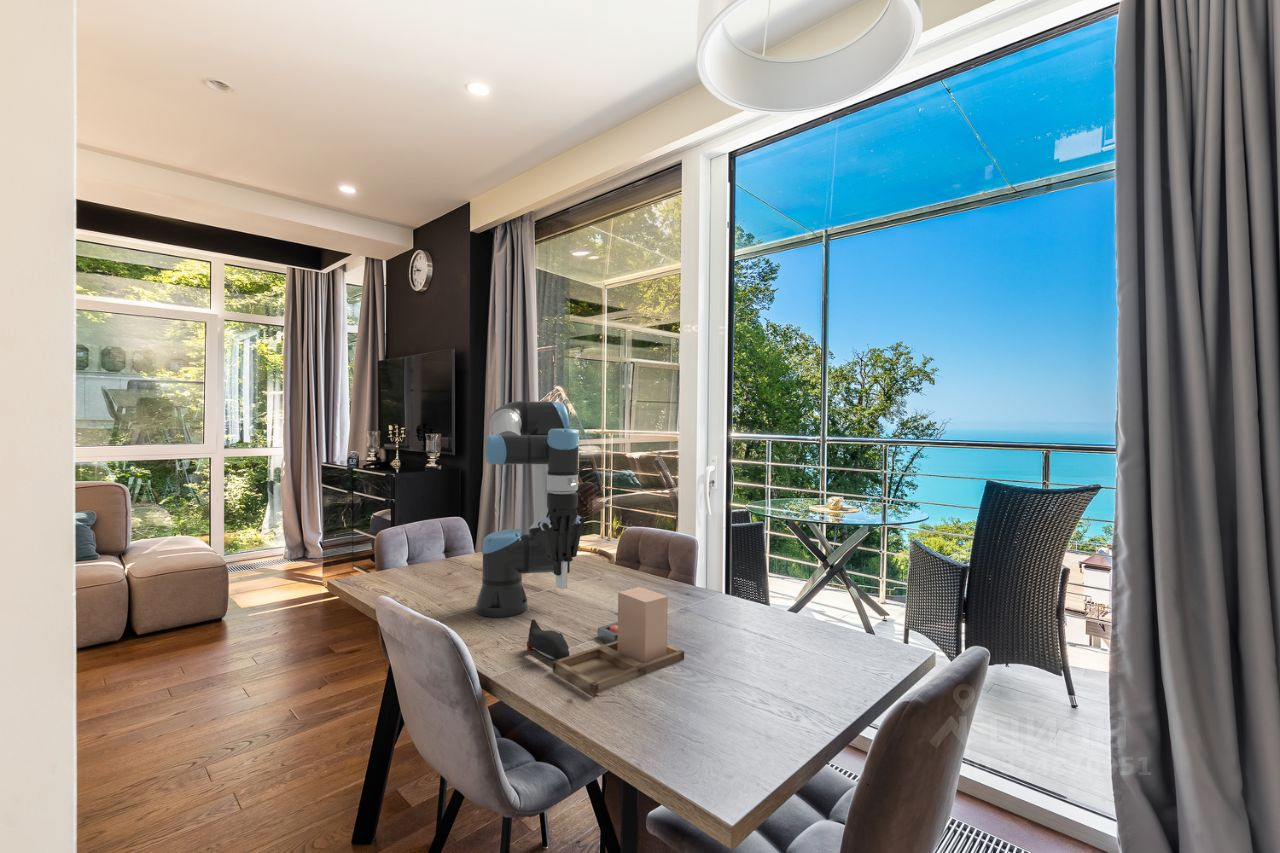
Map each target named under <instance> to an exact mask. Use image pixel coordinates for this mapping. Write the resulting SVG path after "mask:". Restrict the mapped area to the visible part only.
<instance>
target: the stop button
mask: <svg viewBox="0 0 1280 853" xmlns="http://www.w3.org/2000/svg"><path fill="white" fill-rule="evenodd" d="M610 631H612V632H614V633H617V632H618V625H613V626H610Z"/></svg>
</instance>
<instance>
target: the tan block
mask: <svg viewBox="0 0 1280 853" xmlns="http://www.w3.org/2000/svg"><path fill="white" fill-rule="evenodd" d="M617 600H618V601H617V622H618V652H620V653H622V654H624V655H626V656H628V657H630V658H632V659H634V660H636V661H638V662H640V663H642V664H644V663H647V662H649V661H652V660H655V659H658V658H660V657H663V656H666V655H667V644H668V603H669V602H668V595H665V594H662V593H658V592H655V591H653V590H650V589H647V588H644V587H641V586H638V587H634V588H630V589H626V590H622V591H618V593H617Z"/></svg>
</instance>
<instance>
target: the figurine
mask: <svg viewBox="0 0 1280 853" xmlns="http://www.w3.org/2000/svg"><path fill="white" fill-rule="evenodd" d="M528 630H529V632H528V638H527V639H528V640H527V641H526V647H527V648H526V649H527V651H528V652H529V651H531V650H532V651H533V650H536V651H537V652H538V653H539V654H541V655H542V656H544V657H547V658H548V659H552V660H558V659H561V658H564V657H568V656H571V655H570V651H569V644H568V643H567V641H566V639H565V637H564V635H563V633H561V632H560V633H559V632H558V631H556V630H550V629H549V630H545V629H544V630H543V629H542V628H541V627H540V625H539V624H538V623H537V621H536V619H534V618H533V619H531V622H530V626H529V629H528Z"/></svg>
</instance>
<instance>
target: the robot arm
mask: <svg viewBox="0 0 1280 853" xmlns="http://www.w3.org/2000/svg"><path fill="white" fill-rule="evenodd" d="M489 418H490V419H489V429H490V431H491V433H492V434H490V435H488V436H487V437H486V441H485V460H486V463H487V464H488V465H498V466H503V465H505V466H506V465H510V466H511V465H533V521H534V522H533V523H532V525H531V526H530V527H529V528H528V533H529V534H528V533H527V534H524V532H523V531H522V529H518V528H515V529H513V528H512V529H510V528H509V529H502V530H497V531H494V532H491V533H489V534H487V535H486V536H485V537H484V539H483V541H482V550H481V554H482V568H481V569H482V571H481V572H482V573H481V574H482V575H481V576H482V578H481V580H482V582H481V587H480V590H479V593H478V597H477V599H476V602H475V612H476V613H477V614H478V615H480V616H484V617H488V618H504V617H505V618H506V617H512V616H513V617H514V616H516V615H520V614H523V613H524V612H526V611H527V610H528V602H529V601H528V598H527V595H526V592H525V588H524V585H523V575H524V574H526V575H527V574H541V573H542V574H543V573H545V574H546V573H552V574H553V575H555V587H556V588H557V589H560V590H566V589H568V574H569V573H570V567H571V566H570V564H571V562H572V561H573V559H574V558H576V557H577V554H578V551H579V550H578V549H579V546H580V545H579V544H580V539H581V534H582V530H583V527H584V525H585V523H586V518H585V517H581V516H580V515H579V513H578V510H577V508H578V506H579V493H578V492H577V491H578V490H579V451H580V450H579V447H580V440H579V438H580V437H579V431H578V430H577V429H575V428H570V420H569V419H570V418H569V414H568V410H567V407H566V406H565V404H564V403H562V402H558V401H556V402H555V401H523V400H521V401H520V400H519V401H518V400H516V401H512V402H508V403H505V404H503V405H501V406H499V407H498V408H497V409H495V410H494V411H493V413H492V414H491V416H490V417H489Z"/></svg>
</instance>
